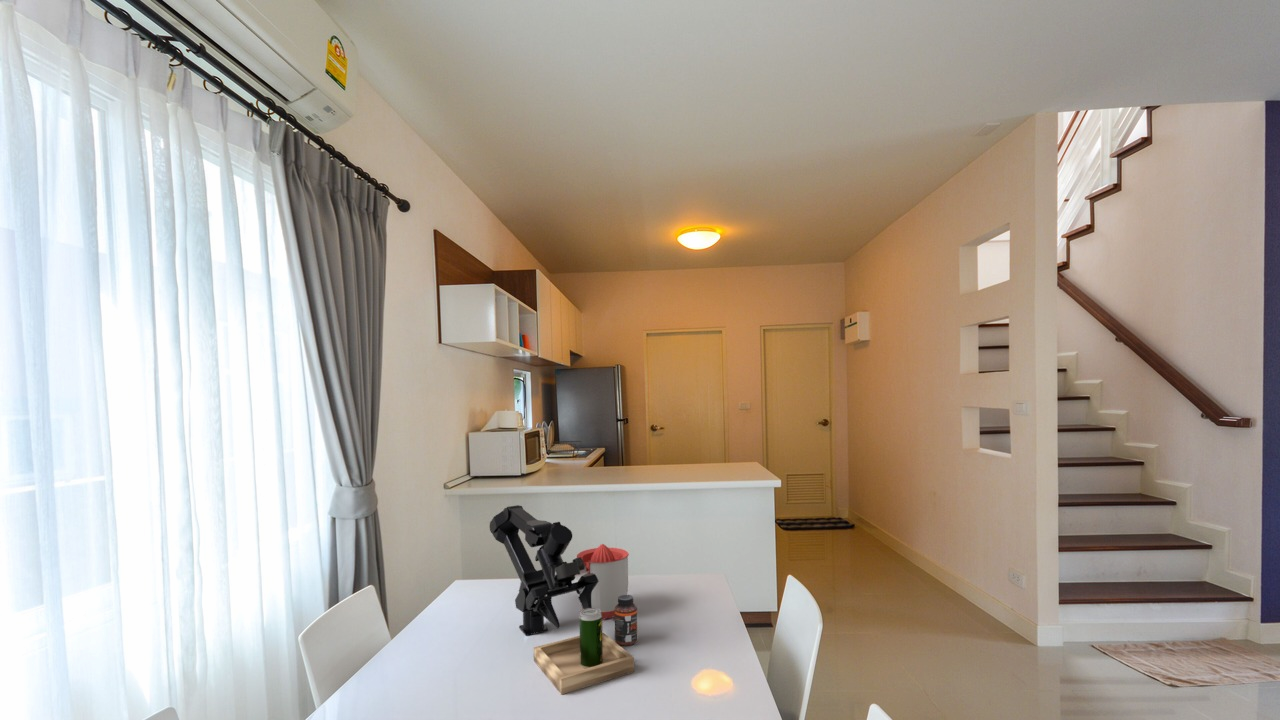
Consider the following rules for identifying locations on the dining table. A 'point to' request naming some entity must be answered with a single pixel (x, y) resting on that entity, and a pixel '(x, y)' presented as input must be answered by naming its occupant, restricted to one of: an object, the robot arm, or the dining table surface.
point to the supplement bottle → (625, 621)
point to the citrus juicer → (606, 576)
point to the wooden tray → (567, 671)
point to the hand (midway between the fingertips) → (575, 622)
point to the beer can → (590, 637)
